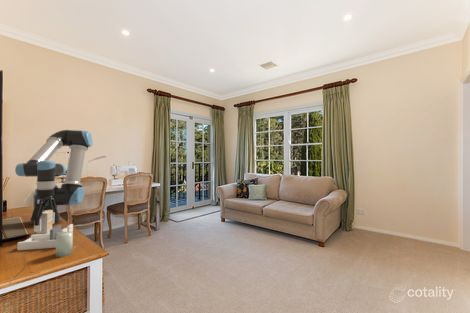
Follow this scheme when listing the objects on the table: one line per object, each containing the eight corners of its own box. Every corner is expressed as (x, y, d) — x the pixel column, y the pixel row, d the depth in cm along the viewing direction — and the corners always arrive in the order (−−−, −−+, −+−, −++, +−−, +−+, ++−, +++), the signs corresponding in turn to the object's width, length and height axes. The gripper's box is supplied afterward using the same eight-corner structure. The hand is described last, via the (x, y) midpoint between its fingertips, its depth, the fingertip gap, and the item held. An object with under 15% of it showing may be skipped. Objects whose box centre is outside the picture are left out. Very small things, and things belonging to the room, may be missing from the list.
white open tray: (31, 241, 114) (32, 225, 114) (72, 238, 119) (73, 223, 119) (17, 250, 104) (17, 232, 104) (62, 247, 108) (63, 230, 108)
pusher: (58, 238, 116) (58, 224, 116) (71, 237, 118) (71, 224, 118) (49, 244, 108) (49, 230, 108) (64, 243, 110) (64, 229, 110)
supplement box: (41, 233, 126) (42, 210, 127) (52, 232, 128) (53, 209, 128) (35, 238, 119) (36, 213, 119) (47, 237, 121) (47, 212, 121)
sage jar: (59, 251, 103) (60, 232, 103) (74, 250, 105) (75, 231, 105) (52, 257, 98) (53, 236, 98) (68, 256, 99) (69, 235, 99)
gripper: (49, 186, 135) (48, 221, 135) (22, 192, 111) (21, 235, 111) (64, 185, 137) (63, 220, 137) (40, 192, 113) (39, 234, 113)
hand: (44, 227), depth 124 cm, fingers open, 13 cm apart
